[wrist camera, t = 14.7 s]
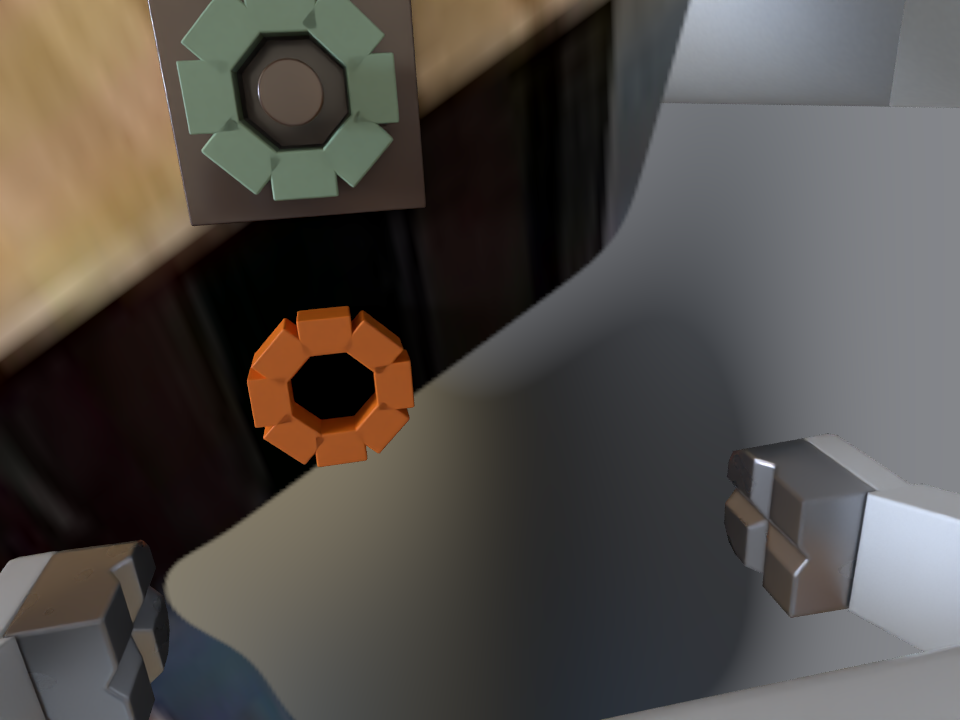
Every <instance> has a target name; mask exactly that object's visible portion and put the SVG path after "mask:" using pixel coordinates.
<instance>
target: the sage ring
mask: <svg viewBox="0 0 960 720" xmlns="http://www.w3.org/2000/svg"><path fill="white" fill-rule="evenodd" d="M306 35H309V36H310V37H311V38H312V39H314V40H315V41H316V42H317V43H318V44H319V45H320V46H321V47H322V48H323V49H324V50H326V51H327V52H328V53H329V54H330V55H331V56H332V57H333V58H334V59H335V60H336V61H337V62H339V63H340V64H341V65H342V66H343V67H344V69H345V78H346V87H347V97H348V106H349V114H348V116H347V117H346V118H345V119H344V121H343V122H342V123H341V124H340V126H339V127H338V128H337V129H336V130H335V132H334V133H333V134H332V135H331V137H330V138H329V139H328V140H327V142H326V143H325V144H324V145H323V146H320V147H304V148H288V149H279V148H278V147H277V146H275V145H274V144H273V143H272V142H271V141H269V140H268V139H267V138H266V137H265V136H263V135H262V134H261V133H260V132H259V131H257V130H256V129H255V128H254V127H253V126H251V125H250V124H249V123H248V122H247V121H245V120H244V117H243V111H242V104H241V98H240V92H239V85H238V79H237V73H236V72H237V71H238V70H239V69H240V67H241V66H242V65H243V63H244V62H245V61H246V59H247V58H248V57H249V56H250V54H251V53H252V52H253V50H254V49H255V48H256V46H257V45H258V44H259V43H260V41H261V40H262V39H263V37H278V36H306ZM384 36H385V34H384V33H383V32H382V31H381V30H380V29H379V28H378V27H377V26H376V25H375V24H374V23H373V22H372V21H371V20H370V19H368V18H367V17H366V16H365V15H364V14H363V13H362V12H361V11H360V10H359V9H358V8H357V7H356V6H355V5H354V4H353V3H352V2H351V1H350V0H317V1H316V0H244V3H243V2H242V1H241V0H212V1H211V2H210V3H209V5H208V6H207V7H206V9H205V10H204V11H203V13H202V14H201V15H200V17H199V18H198V19H197V21H196V22H195V23H194V25H193V26H192V27H191V29H190V30H189V31H188V33H187V34H186V35H185V37H184V38H183V39H182V41H181V43H182V44H183V45H184V46H185V47H186V48H187V49H189V50H190V51H191V52H192V53H193V54H194V55H196V56H197V57H198V58H199V59H200V60H189V61H177V62H176V64H177V69H178V74H179V80H180V85H181V91H182V96H183V101H184V107H185V112H186V118H187V123H188V128H189V133H190V134H191V135H196V134H213V133H214V134H213V135H212V137H211V138H210V139H209V140H208V142H207V143H206V144H205V146H204V147H203V148H202V153H203V154H204V155H206V156H207V157H208V158H209V159H211V160H212V161H213V162H214V163H216V164H217V165H218V166H220V167H221V168H222V169H223V170H225V171H226V172H227V173H228V174H230V175H231V176H232V177H234V178H235V179H236V180H237V181H239V182H240V183H241V184H242V185H244V186H245V187H246V188H247V189H249V190H250V191H251V192H253V193H254V194H256V195H257V194H259V193H260V191H261V190H262V189H263V188H264V186H265V185H266V184H267V183H268V181H269V180H270V179H271V186H272V192H273V199H274V200H275V201H284V200H297V199H310V198H324V197H337V196H338V195H339V191H338V182H337V175H338V176H339V177H340V178H342V179H343V180H344V181H345V182H346V183H347V184H349V185H350V186H351V187H353V188H354V187H356V185H357V184H358V183H359V182H360V180H361V179H362V178H363V177H364V176H365V174H366V173H367V172H368V171H369V170H370V168H371V167H372V166H373V165H374V163H375V162H376V161H377V160H378V159H379V157H380V156H381V155H382V154H383V152H384V151H385V150H386V149H387V148H388V146H389V145H390V144H391V143H392V141H393V138H392V136H390V135H389V134H388V133H387V132H386V131H385V130H384V129H383V128H382V127H380V126H379V125H378V124H384V123H398V122H399V111H398V99H397V87H396V75H395V63H394V54H393V53H391V52H389V53H372V51H373V50H374V49H375V47H376V46H377V45H378V44H379V42H380V41H381V40H382V39H383V37H384Z"/></svg>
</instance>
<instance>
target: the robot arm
mask: <svg viewBox="0 0 960 720" xmlns="http://www.w3.org/2000/svg"><path fill="white" fill-rule="evenodd" d="M727 477H728V478H729V480H730V481H731V482H732V484H733V485H734V486H735V488H736V489H735V490H734V492H733V493H732V495H731V496H730V497H729V499H728V500H727V501H726V503H725V520H724V524H725V528H726V532H727V536H728V540H729V543H730V545H731V547H732V549H733V551H734V553H735V554H736V555H737V557H738V558H739V559H740V560H741V561H742V563H743V564H744V565H745V566H747V567H749V568H751V569H754V570H756V571H758V572H760V573H763V574H764V575H763V587H764V588H765V589H766V591H767V592H768V593H769V594H770V595H771V596H772V597H773V598H774V600H775V601H776V602H777V603H778V604H779V605H780V607H781V608H782V609H783V610H784V611H785V612H786V613H787V614H788V616H789V617H790V618H793V617H799V616H805V615H810V614H817V613H823V612H829V611H835V610H841V609H847V608H849V612H851V613H853V614H855V615H857V616H858V617H860V618H862V619H864V620H866V621H868V622H869V623H871V624H873V625H875V626H877V627H879V628H881V629H882V630H884V631H886V632H888V633H890V634H892V635H893V636H895V637H897V638H899V639H901V640H902V641H904V642H906V643H908V644H910V645H912V646H914V647H916V648H917V649H919V650H921V651H923V652H920V653H916V654H911V655H906V656H901V657H897V658H892V659H887V660H882V661H878V662H873V663H868V664H864V665H859V666H854V667H849V668H844V669H840V670H835V671H830V672H825V673H821V674H816V675H811V676H806V677H802V678H797V679H792V680H788V681H782V682H778V683H773V684H768V685H764V686H759V687H754V688H750V689H745V690H740V691H735V692H730V693H725V694H721V695H716V696H711V697H706V698H702V699H697V700H692V701H687V702H683V703H678V704H673V705H668V706H664V707H659V708H654V709H650V710H645V711H640V712H635V713H631V714H626V715H621V716H617V717H612V718H607V719H602V720H960V494H959V493H955V492H951V491H947V490H944V489H940V488H936V487H933V486H929V485H925V484H916V485H911V484H910V483H908V482H906V481H905V480H904V479H902V478H901V477H899V476H898V475H896V474H895V473H893V472H892V471H890V470H889V469H887V468H886V467H884V466H883V465H881V464H880V463H878V462H877V461H875V460H874V459H872V458H871V457H869V456H868V455H866V454H865V453H863V452H862V451H860V450H859V449H858V448H856V447H854V446H853V445H852V444H850V443H848V442H847V441H845V440H844V439H843V438H841V437H839V436H838V435H833V434H828V433H827V434H822V435H817V436H812V437H806V438H802V439H797V440H792V441H786V442H780V443H775V444H769V445H764V446H759V447H753V448H747V449H742V450H737V451H733V453H732V455H731V458H730V460H729V465H728V475H727ZM155 568H156V567H155V564H154V561H153V558H152V554H151V551H150V548H149V546H148V545H147V544H146V543H145V542H144V541H143V540H139V541H132V542H124V543H117V544H109V545H102V546H94V547H87V548H79V549H72V550H64V551H60V552H56V551H54V552H48V553H42V554H36V555H30V556H24V557H19V558H16V559H13V560H11V561H9V562H8V563H7V565H6V566H5V568H4V569H3V570H2V572H1V573H0V720H149V717H150V713H151V710H152V707H153V703H154V700H155V698H154V695H153V691H152V688H151V684H150V683H151V682H152V681H153V680H154V679H155V678H156V677H157V676H158V675H159V674H161V673H162V672H163V670H164V666H165V663H166V659H167V655H168V648H169V632H170V629H169V620H168V612H167V608H166V604H165V600H164V596H163V595H161V594H160V593H159V592H157V591H156V590H155V589H153V588H152V587H150V586H149V585H150V582H151V579H152V577H153V574H154V571H155Z"/></svg>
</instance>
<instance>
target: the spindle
mask: <svg viewBox="0 0 960 720" xmlns="http://www.w3.org/2000/svg"><path fill="white" fill-rule="evenodd" d="M147 1H148V6H149V11H150V16H151V21H152V26H153V32H154V37H155V42H156V47H157V52H158V57H159V63H160V68H161V73H162V78H163V83H164V88H165V94H166V99H167V104H168V109H169V114H170V119H171V125H172V130H173V135H174V140H175V145H176V150H177V155H178V161H179V166H180V171H181V176H182V181H183V186H184V192H185V197H186V202H187V207H188V212H189V217H190V223H191V225H192V226H200V225H213V224H225V223H238V222H250V221H263V220H275V219H288V218H300V217H313V216H325V215H338V214H350V213H363V212H375V211H388V210H400V209H413V208H424V207H426V200H425V186H424V172H423V159H422V145H421V132H420V118H419V105H418V91H417V78H416V64H415V51H414V37H413V24H412V10H411V0H350V1H351V2H352V3H353V4H354V5H355V6H356V7H357V8H358V9H359V10H360V11H361V12H362V13H363V14H364V15H365V16H366V17H367V18H368V19H370V20H371V21H372V22H373V23H374V24H375V25H376V26H377V27H378V28H379V29H380V30H381V31H382V32H383V33H384V34H385V36H384V37H383V39H382V40H381V41H380V42H379V44H378V45H377V46H376V47H375V49H374V50H373V51H372V53H389V52H391V53H393V54H394V63H395V75H396V87H397V99H398V111H399V122H398V123H384V124H378V125H379V126H380V127H382V128H383V129H384V130H385V131H386V132H387V133H388V134H389V135H390V136H392V138H393V141H392V143H391V144H390V145H389V146H388V148H387V149H386V150H385V151H384V152H383V154H382V155H381V156H380V157H379V159H378V160H377V161H376V162H375V163H374V165H373V166H372V167H371V168H370V170H369V171H368V172H367V173H366V174H365V176H364V177H363V178H362V179H361V180H360V182H359V183H358V184H357V185H356V187H354V188H353V187H351V186H350V185H349V184H347V183H346V182H345V181H344V180H343V179H342V178H340V177H339V176H338V175H337V182H338V191H339V195H338V196H337V197H324V198H310V199H297V200H284V201H275V200H274V199H273V192H272V186H271V179H270V180H269V181H268V183H267V184H266V185H265V186H264V188H263V189H262V190H261V191H260V193H259V194H257V195H256V194H254V193H253V192H251V191H250V190H249V189H247V188H246V187H245V186H244V185H242V184H241V183H240V182H239V181H237V180H236V179H235V178H234V177H232V176H231V175H230V174H228V173H227V172H226V171H225V170H223V169H222V168H221V167H220V166H218V165H217V164H216V163H214V162H213V161H212V160H211V159H209V158H208V157H207V156H206V155H204V154H203V153H202V148H203V147H204V146H205V144H206V143H207V142H208V140H209V139H210V138H211V137H212V135H213V134H214V133H213V134H196V135H191V134H190V133H189V128H188V123H187V118H186V112H185V107H184V101H183V96H182V91H181V85H180V80H179V74H178V69H177V64H176V62H177V61H189V60H200V59H199V58H198V57H197V56H196V55H194V54H193V53H192V52H191V51H190V50H189V49H187V48H186V47H185V46H184V45H183V44H182V43H181V41H182V39H183V38H184V37H185V35H186V34H187V33H188V31H189V30H190V29H191V27H192V26H193V25H194V23H195V22H196V21H197V19H198V18H199V17H200V15H201V14H202V13H203V11H204V10H205V9H206V7H207V6H208V5H209V3H210V2H211V1H212V0H147ZM241 1H242V2H243V3H244V0H241ZM316 1H317V0H316ZM241 75H242V82H243V88H244V94H245V101H246V107H247V114H248V118H249V119H250V120H251V121H253V122H254V123H255V124H256V125H257V126H259V127H260V128H261V129H262V130H263V131H265V132H266V133H267V134H268V135H269V136H271V137H272V138H273V139H274V140H275V141H277V142H278V143H279V144H280V145H281V146H292V145H308V144H323V143H324V141H325V140H326V139H327V138H328V136H329V135H330V134H331V133H332V131H333V130H334V129H335V128H336V126H337V125H338V124H339V123H340V121H341V120H342V119H343V118H344V116H345V115H346V114H347V113H348V110H347V101H346V92H345V83H344V73H343V69H342V68H341V67H340V66H339V65H338V64H337V63H335V62H334V61H333V60H332V59H331V58H330V57H329V56H328V55H327V54H326V53H325V52H323V51H322V50H321V49H320V48H319V47H318V46H317V45H316V44H315V43H314V42H313V41H311V40H310V39H298V40H270V41H266V43H265V44H264V45H263V47H262V48H261V49H260V50H259V52H258V53H257V54H256V56H255V57H254V58H253V59H252V61H251V62H250V63H249V65H248V66H247V67H246V68H245V70H244V71H243V72H242V74H241Z"/></svg>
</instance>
